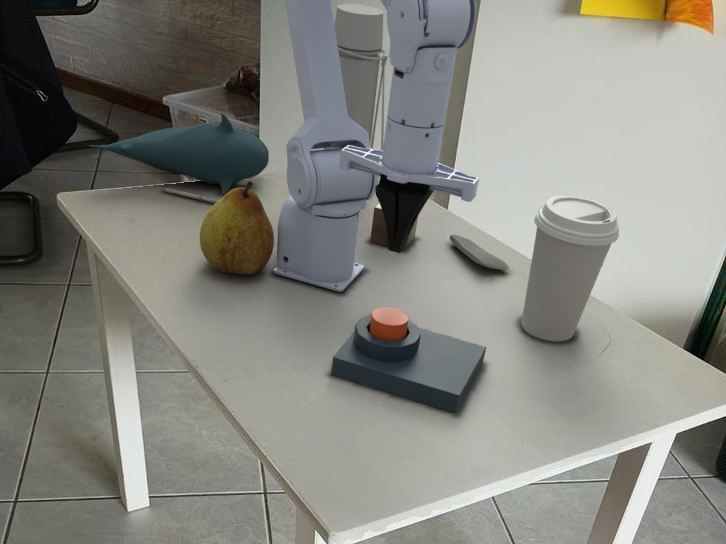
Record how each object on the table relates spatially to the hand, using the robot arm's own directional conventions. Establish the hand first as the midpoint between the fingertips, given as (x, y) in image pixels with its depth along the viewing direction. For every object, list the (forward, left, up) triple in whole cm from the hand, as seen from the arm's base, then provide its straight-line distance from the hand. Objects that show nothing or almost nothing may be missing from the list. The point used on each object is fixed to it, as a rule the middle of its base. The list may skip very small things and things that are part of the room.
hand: (396, 248), depth 90 cm
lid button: (+2, -7, -7) cm, 10 cm away
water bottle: (-20, +37, -10) cm, 43 cm away
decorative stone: (+6, +27, -10) cm, 29 cm away
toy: (-38, +21, -4) cm, 44 cm away
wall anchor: (-37, +20, -10) cm, 44 cm away
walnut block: (-8, +24, -10) cm, 27 cm away
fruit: (-22, +4, -10) cm, 24 cm away
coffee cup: (+17, +11, -10) cm, 23 cm away
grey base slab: (+5, -7, -10) cm, 13 cm away
